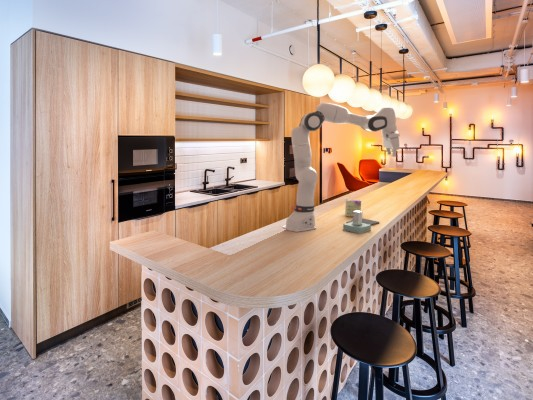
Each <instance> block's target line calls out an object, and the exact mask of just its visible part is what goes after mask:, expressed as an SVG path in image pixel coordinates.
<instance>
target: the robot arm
mask: <svg viewBox="0 0 533 400" xmlns="http://www.w3.org/2000/svg"><path fill="white" fill-rule="evenodd" d="M396 118H397V117H396V112H395V109H394V108H393V107H382V108H380V109H379V110H378V111H377V112H376V113H374V114H373V115H371V114H368V115H360V114H355V113H352V112H351V111H349V109H348V108H346V107H344V106H342V105H340V104H336V103H330V102H320V103H319V104H318V105H317V107H316V110H315V111H313V112H308V113H306V114H305V115H303V116H302V118H301V120H300V121H299V125H298V126H296V127H294V128H293V129H292V130H291V134H290V135H291V146H292V153H293V159H294V172H295V173H294V174H295V178H296V180H297V181H298V187H297V191H296V204H295V205H292V206H291V209H292V210H294V211H292V213H291V214H290V215H289V216H288V217H287V218H286V223H285V224H284V225H282V229H284V230H286V231H289V232H296V233H298V232H305V231H312V230H316V229H317V227H316V218H315V204H314V203H315V191H316V186H317V185H316V184H317V181H318V173H317V171H316V169H314V168H313V166H312V157H313V156H312V155H313V154H312V148H311V143H310V142H311V141H310V133H311V132H316V131H317V130H319V129H320V128H321V127H322V125H323V123H324V122H327V123H332V124H337V125H343V124H351V125H355V126H359V127H360V128H362V129H363V130H364V131H367V132H378V131H381V137H382V145H383V148H386V151H387V152H386V153H387V155H391V154H392V157H393V158H395V157H396V156H397V150H399V149H400V133H399V131H398V128H397V125H396V124H397V123H396V122H397V119H396ZM391 151H392V152H391Z"/></svg>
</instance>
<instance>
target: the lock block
mask: <svg viewBox="0 0 533 400" xmlns="http://www.w3.org/2000/svg"><path fill="white" fill-rule="evenodd" d="M342 230H344V231H347V232H351V233H355V234H359V235H360V234H364V233H367V232H370V231H371V230H372V226H371V225H369V224H365V223H362V225H361V226H355V225H353V222H350V223H346V222H345V223H343V226H342Z"/></svg>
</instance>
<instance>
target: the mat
mask: <svg viewBox="0 0 533 400" xmlns="http://www.w3.org/2000/svg"><path fill="white" fill-rule="evenodd" d="M350 222H353V219H352V220H349V221H346V222H345V224H346V223H350ZM362 223H365V224H369V225H371V227H372V226H375V225H378V224H380V221H377V220H373V219H369V218H363V217H362Z"/></svg>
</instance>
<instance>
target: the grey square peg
mask: <svg viewBox="0 0 533 400" xmlns="http://www.w3.org/2000/svg"><path fill="white" fill-rule="evenodd" d="M362 218H363V211H362V210H361V211H358V210H357V211H353V216H352V220H353V225H355V226H361V225H362Z"/></svg>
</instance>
